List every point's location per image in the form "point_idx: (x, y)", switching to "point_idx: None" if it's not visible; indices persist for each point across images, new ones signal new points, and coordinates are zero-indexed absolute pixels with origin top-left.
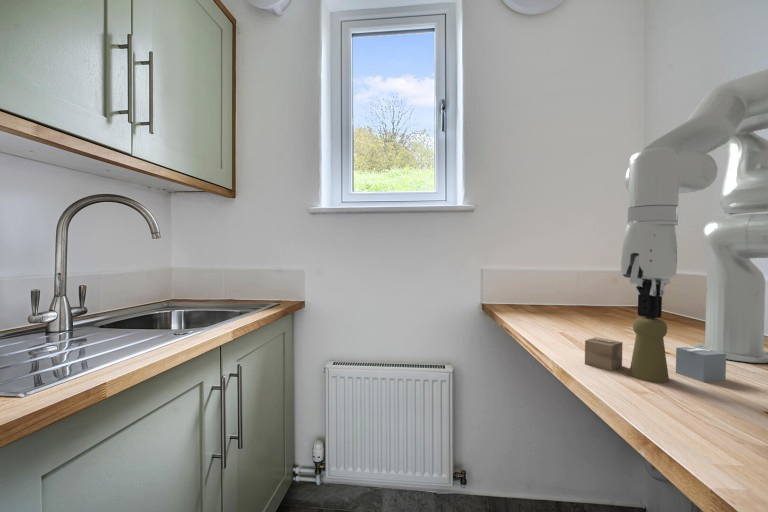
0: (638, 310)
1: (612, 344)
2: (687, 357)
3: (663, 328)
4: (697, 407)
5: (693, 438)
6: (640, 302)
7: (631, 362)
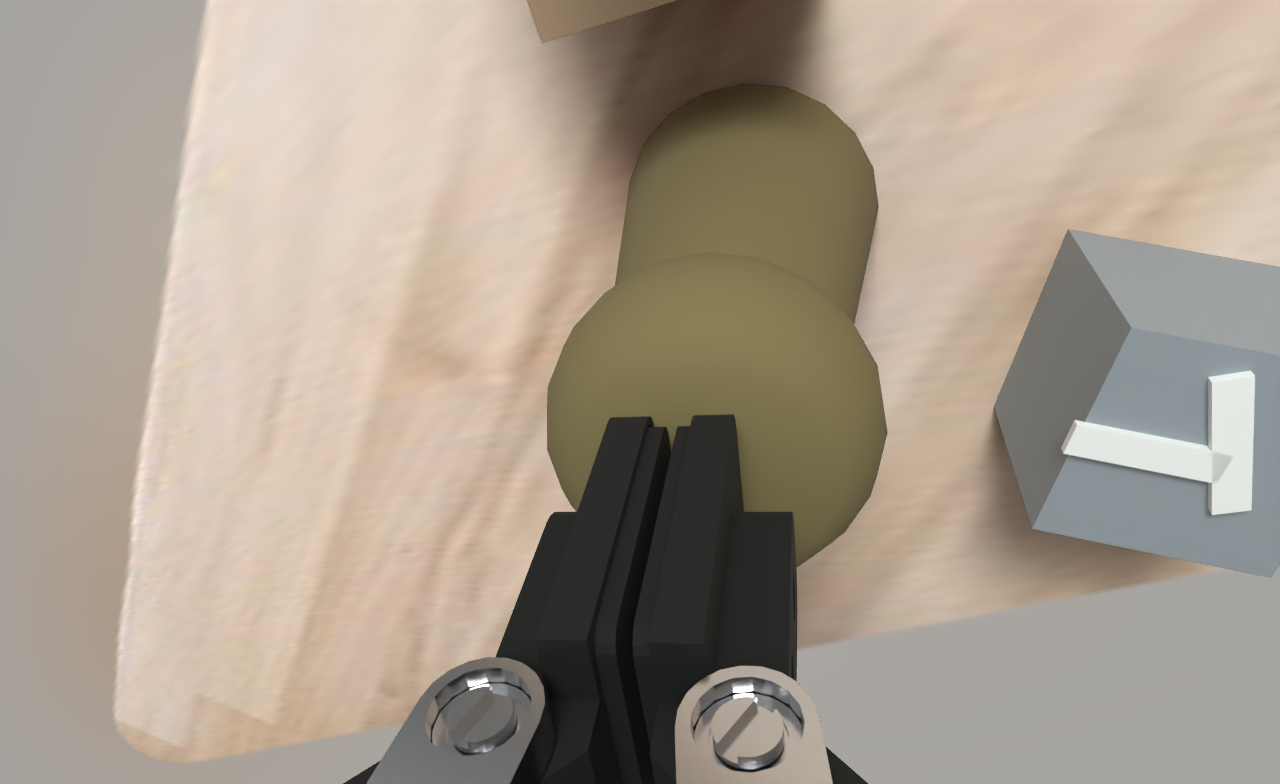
0: (603, 455)
1: (597, 3)
2: (1068, 388)
3: None
4: (532, 545)
5: (266, 632)
6: (519, 595)
7: (658, 159)
